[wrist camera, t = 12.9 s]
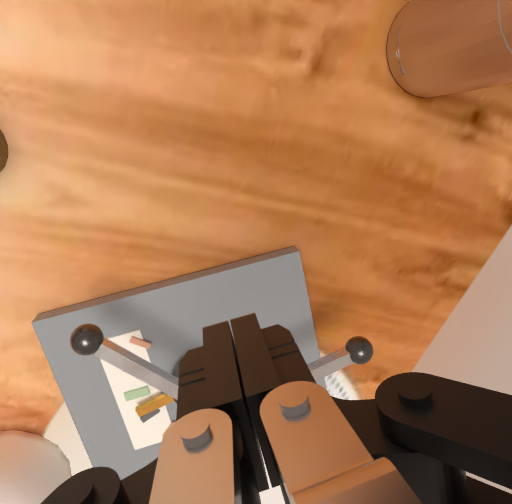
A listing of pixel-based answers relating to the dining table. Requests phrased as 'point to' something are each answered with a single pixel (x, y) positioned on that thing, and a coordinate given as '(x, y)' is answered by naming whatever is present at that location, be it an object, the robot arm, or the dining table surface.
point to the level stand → (164, 346)
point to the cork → (3, 151)
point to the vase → (29, 467)
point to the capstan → (93, 342)
